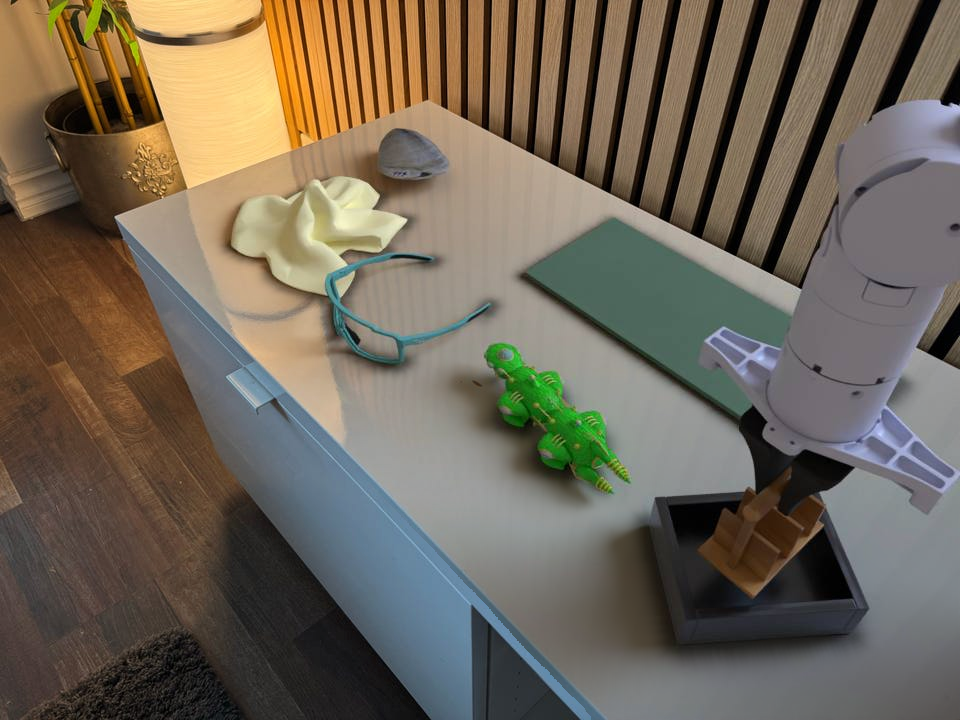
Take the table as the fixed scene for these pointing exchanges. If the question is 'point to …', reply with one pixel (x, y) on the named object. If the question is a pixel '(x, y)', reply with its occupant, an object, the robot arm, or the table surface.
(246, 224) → the cloth
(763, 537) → the dish rack
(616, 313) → the drying mat
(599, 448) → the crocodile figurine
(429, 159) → the seashell
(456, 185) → the table surface
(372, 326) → the sunglasses
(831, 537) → the open box
